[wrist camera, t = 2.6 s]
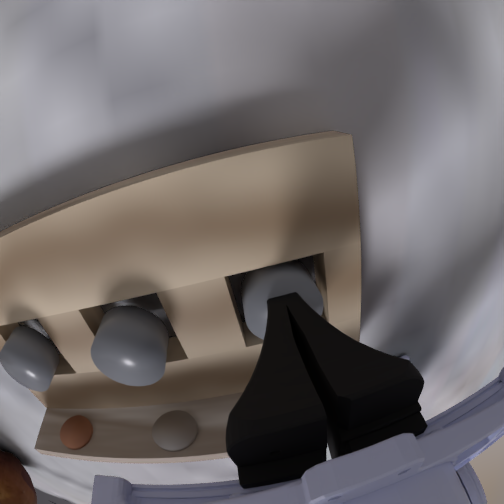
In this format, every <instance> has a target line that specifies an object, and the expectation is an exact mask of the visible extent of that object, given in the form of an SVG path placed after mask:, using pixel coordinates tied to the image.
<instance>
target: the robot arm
mask: <svg viewBox="0 0 504 504" xmlns="http://www.w3.org/2000/svg"><path fill="white" fill-rule="evenodd" d="M267 308H268V314H267V324H266V332H265V336H264V341H263V345H262V349H261V352H260V356H259V359H258V362H257V364H256V367H255V369H254V372H253V374H252V376H251V378H250V380H249V382H248V384H247V386H246V388H245V390H244V392H243V393H242V395H241V397H240V398H239V400H238V401H237V403H236V404H235V406H234V407H233V409H232V410H231V412H230V413H229V417H228V421H227V427H226V438H225V439H226V451H227V454H228V456H229V457H230V458H231V459H232V461H233V462H234V463H235V464H236V465H237V467H238V475H239V480H232V481H224V482H214V483H201V484H182V485H143V484H131V483H130V482H129V481H127V480H125V479H123V478H120V477H114V476H103V475H95V478H94V485H93V494H92V503H91V504H487V500H486V496H485V493H484V490H483V488H482V485H481V483H480V481H479V479H478V477H477V475H476V473H475V471H474V469H473V468H472V466H471V465H470V463H469V461H471V460H472V459H474V458H475V457H476V456H478V455H479V454H480V453H482V452H483V451H484V450H486V449H487V448H488V447H489V446H491V445H492V444H493V443H494V442H496V441H497V440H498V439H499V438H501V437H502V436H503V435H504V367H503V369H502V370H501V372H500V374H499V377H497V378H496V379H495V380H493V381H492V382H490V383H489V384H487V385H486V386H485V387H483V388H482V389H480V390H479V391H477V392H476V393H474V394H472V395H471V396H469V397H468V398H466V399H464V400H463V401H461V402H460V403H458V404H456V405H455V406H453V407H451V408H449V409H448V410H446V411H444V412H442V413H440V414H439V415H437V416H435V417H433V418H431V419H429V420H427V421H425V420H424V418H423V416H422V414H421V413H420V411H421V406H420V404H419V403H418V399H419V396H420V394H421V392H422V389H423V386H424V380H423V377H422V376H421V374H420V373H419V371H418V370H417V369H416V368H415V366H414V365H413V364H412V363H411V362H410V358H409V356H408V355H404V356H402V357H396V356H392V355H389V354H386V353H383V352H380V351H378V350H375V349H373V348H371V347H368V346H366V345H364V344H362V343H360V342H358V341H356V340H354V339H353V338H351V337H349V336H348V335H346V334H344V333H343V332H341V331H340V330H338V329H337V328H335V327H334V326H333V325H331V324H330V323H329V322H327V321H326V320H325V319H324V318H323V317H321V316H320V315H319V314H318V313H317V312H316V311H315V310H313V309H312V308H311V307H310V306H309V305H308V304H307V303H306V302H305V301H304V300H303V299H302V297H301V296H300V295H299V294H298V293H296V292H293V293H289V294H285V295H282V296H278V297H274V298H270V299H268V300H267ZM327 443H328V447H329V450H330V454H331V458H332V459H331V460H328V461H326V448H327Z"/></svg>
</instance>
